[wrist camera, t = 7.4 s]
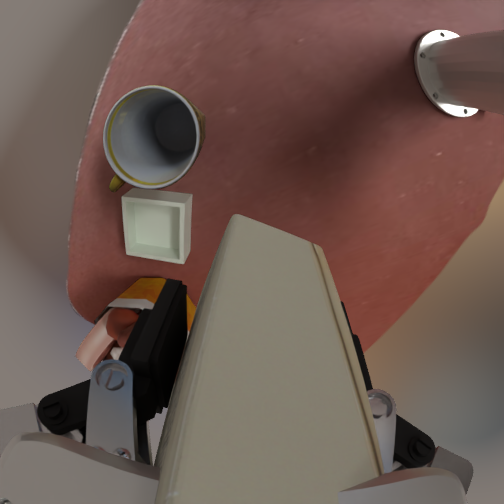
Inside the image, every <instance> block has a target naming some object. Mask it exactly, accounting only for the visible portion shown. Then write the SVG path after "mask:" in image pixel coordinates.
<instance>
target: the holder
mask: <svg viewBox="0 0 504 504" xmlns="http://www.w3.org/2000/svg"><path fill="white" fill-rule="evenodd" d="M122 213H123V226H124V237H125V246H126V255H132V256H138V257H143V258H149V259H155V260H161V261H167V262H173V263H179V264H184V263H185V261H186V259H187V257H188V255H189V253H190V244H191V214H192V194H188V193H179V192H170V191H161V190H151V189H140V188H132V189H131V190H130V191H128V192H127V193H126V194H124V195H123V196H122Z"/></svg>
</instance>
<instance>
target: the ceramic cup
mask: <svg viewBox="0 0 504 504" xmlns="http://www.w3.org/2000/svg"><path fill="white" fill-rule="evenodd" d="M204 139H205V115H204V114H203V113H202V112H201V111H200V110H199V109H198V108H197V107H196V106H194V105H193V104H192V103H191V102H190V101H189V100H188V99H187V98H186V97H184V96H183V95H182V94H180V93H179V92H177V91H175V90H173V89H170V88H167V87H163V86H157V85H150V86H143V87H139V88H136V89H134V90H132V91H130V92H128V93H127V94H125V95H124V96H123V97H121V98H120V99H119V100H118V101H117V102H116V104H115V105H114V106H113V108H112V109H111V111H110V113H109V115H108V117H107V119H106V122H105V126H104V131H103V145H104V151H105V155H106V157H107V160H108V162H109V164H110V166H111V167H112V169H113V170H114V171H115V173H116V175H115V176H114V177H113V179H112V181H111V183H110V186H109V189H110V190H111V191H112V192H116V191H117V190H118V189H119V188H121V187H122V186H123V185H124V183H125V182H127V183H129V184H131V185H133V186H135V187H138V188H142V189H160V188H164V187H167V186H170V185H172V184H174V183H175V182H177V181H178V180H180V179H181V178H182V177H183V176H184V175H185V174H186V173H187V172H188V171H189V170H190V168H191V167H192V165H193V164H194V162H195V161H196V159H197V157H198V155H199V153H200V150H201V148H202V144H203V141H204Z"/></svg>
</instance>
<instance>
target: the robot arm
mask: <svg viewBox="0 0 504 504" xmlns="http://www.w3.org/2000/svg"><path fill="white" fill-rule="evenodd" d="M420 55H421V56H420ZM414 64H415V70H416V74H417V77H418V80H419V83H420V85H421V87H422V89H423V91H424V92H425V94H426V95H427V97H428V98H429V99H430V100H431V102H432V103H433V104H434V105H435V106H436V107H438V108H439V109H440V110H441V111H443V112H445V113H447V114H449V115H452V116H456V117H467V116H471V115H473V114H474V113H476V112H477V111H478V110H484V111H488V112H493V113H497V114H501V115H504V30H499V31H490V32H483V33H476V34H470V35H464V36H458V35H457V34H455V33H453V32H450V31H447V30H434V31H431V32H428V33H426V34H425V35H423V36H422V37H421V38H420V40H419V41H418V43H417V46H416V48H415V54H414ZM433 95H434V96H433ZM340 302H341V305H342V308H343V311H344V314H345V317H346V320H347V324H348V327H349V330H350V333H351V336H352V340H353V343H354V347H355V350H356V354H357V357H358V361H359V365H360V368H361V372H362V376H363V379H364V383H365V387H366V391H367V394H368V399H369V403H370V407H371V410H372V415H373V419H374V424H375V429H376V433H377V438H378V442H379V447H380V452H381V457H382V463H383V468H384V474H383V475H381V476H379V477H376V478H374V479H371V480H369V481H366V482H363V483H361V484H358V485H356V486H353V487H351V488H348V489H345V490H343V491H340V492H338V502H339V504H468V502H467V499H466V494H467V491H468V488H469V485H470V482H471V479H472V476H473V467H472V464H471V463H470V462H469V461H468V460H466V459H464V458H462V457H460V456H458V455H456V454H454V453H451V452H450V451H448V450H446V449H444V448H442V447H440V446H438V447H437V448H436V447H435V445H434V442H433V440H432V439H431V438H430V437H429V436H428V435H426V434H425V433H424V432H422V431H420V430H419V429H418V428H416V427H415V426H413V425H412V424H410V423H409V422H407V421H406V420H404V419H403V418H401V417H400V416H398V415H397V414H396V403H395V401H394V399H393V398H392V397H391V395H390V394H388V393H387V392H385V391H383V390H380V389H373V388H372V384H371V380H370V376H369V372H368V369H367V365H366V362H365V358H364V355H363V351H362V348H361V344H360V341H359V338H358V336H357V335H354V334H353V333H352V330H351V326H350V323H349V319H348V316H347V313H346V310H345V306H344V303H343V302H342V301H340ZM187 336H188V325H187V286H186V285H182V281H179V280H173V279H167V280H166V282H165V284H164V286H163V288H162V290H161V292H160V294H159V296H158V298H157V300H156V302H155V304H154V306H153V309H147V308H144V309H143V310H142V311H141V313H140V315H139V317H138V319H137V321H136V323H135V325H134V327H133V329H132V331H131V333H130V335H129V337H128V339H127V341H126V344H125V346H124V348H123V350H122V352H121V354H120V356H119V358H118V360H114V359H111V360H105V361H103V362H100V363H99V364H98V365H96V367H95V368H94V369H93V371H92V375H91V379H89V380H87V381H84V382H82V383H79V384H76V385H74V386H71V387H68V388H66V389H63V390H60V391H57V392H55V393H52V394H49V395H47V396H45V397H44V398H43V399H42V400H41V401H40V403H39V404H38V405H35V404H34V403H30V404H26V405H21V406H16V407H11V408H7V409H2V410H0V504H154V503H155V499H156V494H157V489H158V484H159V478H160V468H159V467H155V466H153V463H152V453H151V443H150V432H149V420H150V419H152V418H154V417H155V414H156V413H160V414H161V413H162V409H163V407H165V408H168V405H169V402H170V398H171V395H172V391H173V387H174V384H175V380H176V376H177V373H178V369H179V366H180V362H181V359H182V355H183V352H184V348H185V345H186V341H187Z"/></svg>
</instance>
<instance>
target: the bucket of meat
mask: <svg viewBox="0 0 504 504" xmlns="http://www.w3.org/2000/svg"><path fill="white" fill-rule="evenodd" d="M165 282H166V279H164V278H140V279H139V280H138V281H136V282H135V283H134V284H133V285H132V286H130V287H129V288H128V289H127V290H126V291H125V292H123V293H122V294H121V295H120V296H119V297H118V298H116V299H115V300H114V301H113V302H111V303H110V304H109V305H108V306H107V307H106V308H105V309H104V310H103V311H102V313H101V314H100V315H99V316H98V317H97V318H96V320H95V321H94V322H95V326H94V327H93V328H92V330H91V331H90V332H89V334H88V335H87V336H86V338H85V339H84V340H83V342H82V343H81V345H80V347H79V349H78V351H77V353H76V357H77V358H78V359H79V360H80V362H81V363H82V364H83V365H84V366H85V367H86V368H87V369H88V370H89V371H92V370H93V369H94V368H95V367H96V365H98V364H99V363H100V362H101V361H102V360H103V361H105V360H111V359H114V360H118V358H119V356H120V354H121V352H122V350H123V348H124V346H125V344H126V341H127V339H128V337H129V335H130V333H131V331H132V329H133V327H134V325H135V323H136V321H137V319H138V317H139V315H140V313H141V311H142V310H143V309H144V308H147V309H153V306H154V304H155V302H156V300H157V298H158V296H159V294H160V292H161V290H162V288H163V286H164V284H165ZM195 311H196V308H195V306H194V304H193V303H192V301H191V300H190V298H189V297H188V295H187V325H188V335H189V332H190V328H191V325H192V322H193V319H194V315H195ZM187 339H188V336H187ZM186 342H187V341H186ZM184 349H185V348H184ZM182 356H183V355H182ZM180 363H181V362H180ZM179 367H180V366H179ZM178 370H179V369H178ZM177 374H178V373H177ZM176 377H177V376H176ZM175 381H176V380H175ZM173 388H174V387H173ZM172 392H173V391H172ZM170 399H171V398H170ZM169 403H170V402H169Z"/></svg>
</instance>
